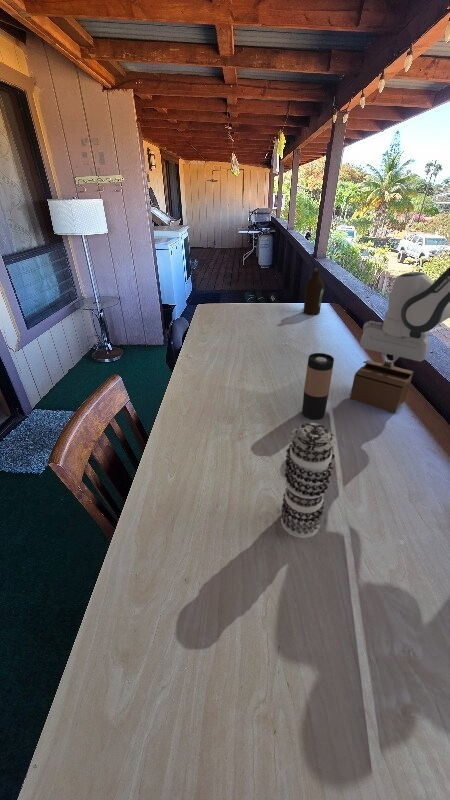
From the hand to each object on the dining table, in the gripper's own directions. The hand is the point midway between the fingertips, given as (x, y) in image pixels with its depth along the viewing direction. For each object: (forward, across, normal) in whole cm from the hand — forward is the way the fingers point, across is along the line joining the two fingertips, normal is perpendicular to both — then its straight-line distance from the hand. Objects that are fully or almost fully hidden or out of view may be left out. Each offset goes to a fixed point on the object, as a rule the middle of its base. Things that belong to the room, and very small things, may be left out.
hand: (387, 365), depth 117 cm
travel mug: (+13, -14, -24) cm, 30 cm away
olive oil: (+13, -63, +77) cm, 100 cm away
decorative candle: (+13, +3, -66) cm, 67 cm away
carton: (+12, 0, -3) cm, 13 cm away
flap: (+1, 0, 0) cm, 1 cm away
